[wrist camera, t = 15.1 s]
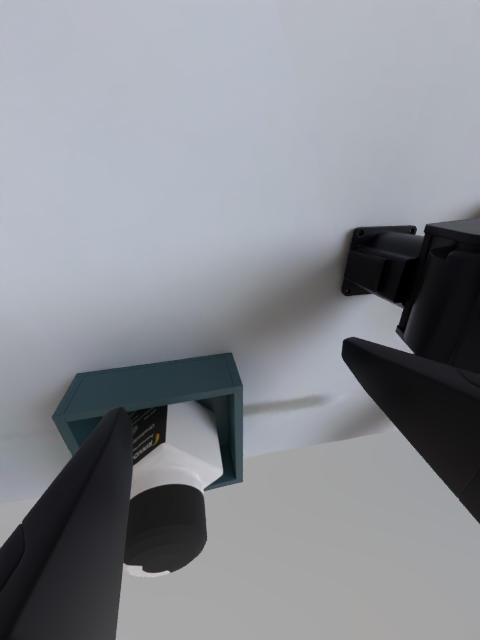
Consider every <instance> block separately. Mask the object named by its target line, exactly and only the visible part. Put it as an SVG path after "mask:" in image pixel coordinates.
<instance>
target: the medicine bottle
mask: <svg viewBox="0 0 480 640" xmlns="http://www.w3.org/2000/svg"><path fill="white" fill-rule="evenodd" d="M129 418H130V419H131V421H132V426H133V473H132V484H131V494H130V503H129V513H128V523H127V532H126V542H125V552H124V561H123V572H125V573H128V574H130V575H133V576H137V577H156V576H161V575H165V574H168V573H171V572H174V571H176V570H178V569H180V568H182V567H184V566H186V565H187V564H188V563H189V562H191V561H192V560H193V559H194V558H196V557H197V556H198V555H199V554H200V553H201V551H202V549H203V548H204V545H205V543H206V541H207V530H206V517H205V504H204V491H203V489H204V488H206V487H207V486H208V485H210V484H211V483H212V482H214V481H215V480H217V479H218V478H219V477H221V476H222V474H223V467H222V461H221V454H220V448H219V441H218V435H217V428H216V422H215V415H214V413H213V412H212V411H210V410H209V409H207V408H206V407H204V406H203V405H201V404H200V403H198V402H197V401H195V400H193V401H187V402H182V403H176V404H170V405H164V406H158V407H152V408H146V409H140V410H136V411H135V412H134V413H132V414H131V415H130V416H129Z"/></svg>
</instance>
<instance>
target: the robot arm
mask: <svg viewBox="0 0 480 640" xmlns="http://www.w3.org/2000/svg"><path fill="white" fill-rule="evenodd" d="M410 230H411V231H410ZM360 231H361V233H360V235H359V232H360ZM416 231H417V228H416V226H411V225H407V226H376V227H358V228H356V229H355V230H354V232H353V237H352V242H351V247H350V251H349V256H348V261H347V265H346V270H345V275H344V281H343V285H342V290H341V292H342V294H343V295H345V296H352V295H363V294H375V295H377V296H379V297H381V298H383V299H385V300H387V301H389V302H391V303H393V304H395V305H397V306H399V307H401V308H403V312H402V315H401V319H400V322H399V325H398V326H397V328H396V333H397V334H398V335H399V336H400V337H401V339H402V340H403V341H404V342H405V343H406V344H407V345H408V347H409V348H410V349H411V350H412V351H413V352H414V354H410V353H407V352H403V351H400V350H397V349H393V348H390V347H386V346H383V345H380V344H376V343H373V342H370V341H366V340H363V339H359V338H356V337H350V338H347V339H344V341H343V346H342V358H343V360H344V362H345V363H346V365H347V366H348V367H349V369H350V370H351V372H352V373H353V375H354V376H355V377H356V379H357V380H358V382H359V383H360V384H361V386H362V387H363V388H364V390H365V391H366V392H367V393H368V395H369V396H370V397H371V398H372V399H373V400H374V402H375V403H376V404H377V405H378V406H379V407H380V409H381V410H382V411H383V412H384V413H385V414H386V415H387V417H388V418H389V419H390V420H391V421H392V422H393V424H394V425H395V426H396V427H397V428H398V429H399V431H400V432H401V433H402V434H403V435H404V436H405V437H406V439H407V440H408V441H409V442H410V443H411V445H412V446H413V447H414V448H415V449H416V450H417V451H418V453H419V454H420V455H421V456H422V457H423V458H424V460H425V461H426V462H427V463H428V464H429V465H430V467H431V468H432V469H433V470H434V471H435V472H436V474H437V475H438V476H439V477H440V478H441V479H442V480H443V481H444V483H445V484H446V485H447V486H448V488H449V489H450V490H451V491H452V492H453V493H454V494H455V496H456V497H457V498H459V501H460V502H461V503H462V504H463V505H464V506H465V507H466V508H467V510H468V511H469V512H470V513H471V514H472V516H473V517H474V518H475V519H476V520H477V521H478V522H479V524H480V218H475V219H466V220H458V221H449V222H440V223H432V224H426V226H425V230H424V233H425V236H418V235H415V234H416ZM347 289H348V291H347V292H346V290H347ZM132 473H133V426H132V421H131V419H130V418H129V416H128V414H127V412H126V411H125V409H124V408H123V407H117V408H114V409H111V410H109V411H108V412H107V414H106V415H105V416H104V418H103V419H102V420H101V421H100V423H99V424H98V425H97V426H96V428H95V429H94V430H93V432H92V433H91V434H90V435H89V437H88V438H87V439H86V440H85V442H84V443H83V444H82V446H81V447H80V448H79V449H78V451H77V452H76V453H75V454H74V456H73V457H72V458H71V459H70V461H69V462H68V463H67V465H66V466H65V467H64V468H63V470H62V471H61V472H60V473H59V475H58V476H57V477H56V479H55V480H54V481H53V482H52V484H51V485H50V486H49V487H48V489H47V490H46V491H45V493H44V494H43V495H42V496H41V498H40V499H39V500H38V501H37V503H36V504H35V505H34V507H33V508H32V509H31V510H30V512H29V513H28V514H27V515H26V517H25V518H24V519H23V521H22V524H19V526H18V527H17V528H16V529H15V531H14V532H13V533H12V535H11V536H10V537H9V538H8V539H7V541H6V542H5V543H4V544H3V546H2V547H1V548H0V640H115V639H116V629H117V619H118V609H119V598H120V590H121V581H122V571H123V561H124V552H125V542H126V532H127V523H128V513H129V503H130V494H131V484H132Z"/></svg>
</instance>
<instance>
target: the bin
mask: <svg viewBox="0 0 480 640" xmlns="http://www.w3.org/2000/svg"><path fill="white" fill-rule="evenodd" d="M193 400H195V401H197V402H198V403H200V404H201V405H203V406H204V407H206V408H207V409H209V410H210V411H212V412H213V413H214V415H215V422H216V428H217V435H218V441H219V448H220V454H221V461H222V467H223V474H222V476H221V477H219V478H218V479H217V480H215V481H214V482H212V483H211V484H210V485H208V486H207V487H206V488H204V489H203V491H207V490H211V489H214V488H219V487H222V486H227V485H231V484H235V483H240V482H243V385H242V382H241V379H240V376H239V373H238V370H237V367H236V364H235V361H234V358H233V355H232V353H226V354H219V355H212V356H204V357H197V358H189V359H182V360H175V361H167V362H160V363H153V364H145V365H138V366H131V367H123V368H116V369H108V370H101V371H94V372H86V373H79V374H77V375H76V377H75V379H74V380H73V382H72V384H71V385H70V387H69V389H68V390H67V392H66V394H65V395H64V397H63V399H62V400H61V402H60V404H59V405H58V407H57V409H56V410H55V412H54V414H53V415H52V419H53V421H54V423H55V425H56V426H57V428H58V430H59V432H60V434H61V436H62V437H63V439H64V441H65V443H66V445H67V447H68V448H69V450H70V452H71V454H72V456H74V454H75V453H76V452H77V451H78V449H79V448H80V447H81V446H82V444H83V443H84V442H85V440H86V439H87V438H88V437H89V435H90V434H91V433H92V432H93V430H94V429H95V428H96V426H97V425H98V424H99V423H100V421H101V420H102V419H103V418H104V416H105V415H106V414H107V412H108V411H109V410H111V409H114V408H117V407H123V408H124V409H125V411H126V412H127V414H128V416H130V415H131V414H132V413H134V412H135V411H136V410H140V409H146V408H152V407H158V406H164V405H170V404H176V403H182V402H187V401H193Z"/></svg>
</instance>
